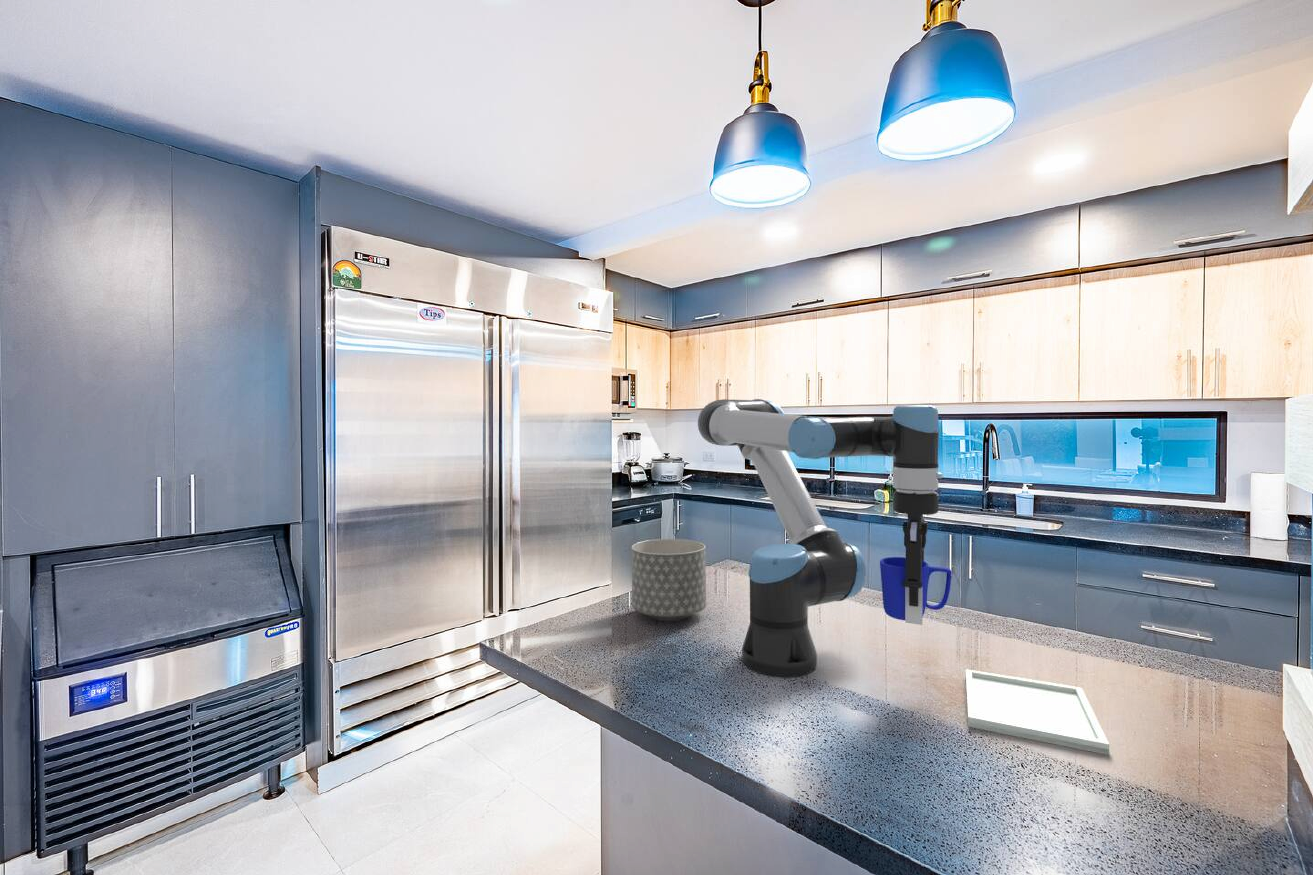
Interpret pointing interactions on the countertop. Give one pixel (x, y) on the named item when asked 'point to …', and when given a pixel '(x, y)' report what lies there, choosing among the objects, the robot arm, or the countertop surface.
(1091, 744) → the tray
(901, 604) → the mug
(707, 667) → the countertop surface
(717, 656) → the countertop surface
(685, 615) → the planter
